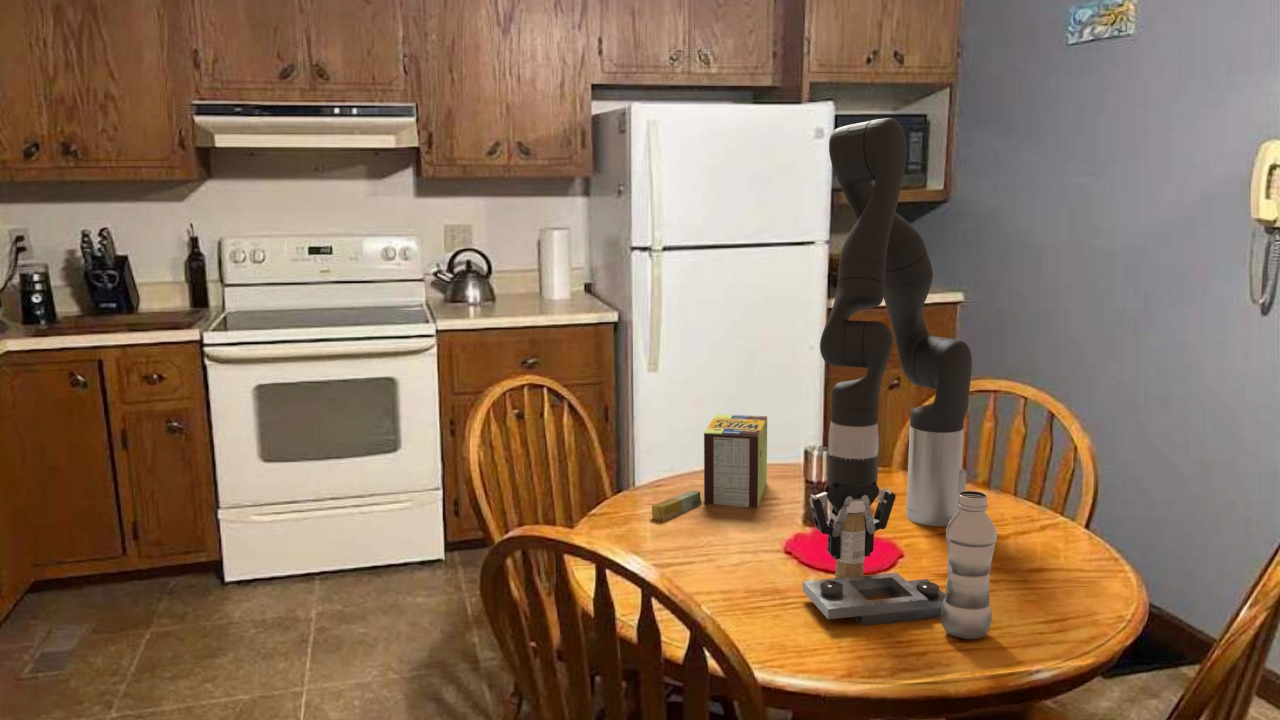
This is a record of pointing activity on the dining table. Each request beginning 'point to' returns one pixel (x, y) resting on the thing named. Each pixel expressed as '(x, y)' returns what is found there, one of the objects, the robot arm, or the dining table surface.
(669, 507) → the medication box
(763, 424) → the protein box
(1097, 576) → the dining table surface
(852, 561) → the sprinkles bottle
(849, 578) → the grey slotted fixture plate
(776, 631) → the dining table surface
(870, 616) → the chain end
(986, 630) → the plastic bottle
